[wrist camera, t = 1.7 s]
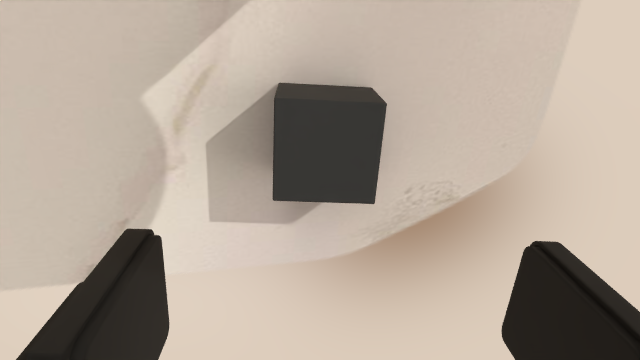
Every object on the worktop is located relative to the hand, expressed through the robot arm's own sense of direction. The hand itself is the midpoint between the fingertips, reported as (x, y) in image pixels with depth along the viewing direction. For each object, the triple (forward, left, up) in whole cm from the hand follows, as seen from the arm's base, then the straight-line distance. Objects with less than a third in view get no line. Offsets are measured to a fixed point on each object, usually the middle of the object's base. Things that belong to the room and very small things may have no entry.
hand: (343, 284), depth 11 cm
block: (0, 0, -13) cm, 13 cm away
